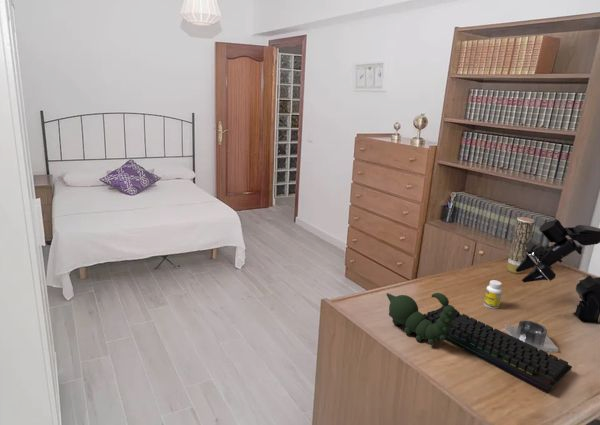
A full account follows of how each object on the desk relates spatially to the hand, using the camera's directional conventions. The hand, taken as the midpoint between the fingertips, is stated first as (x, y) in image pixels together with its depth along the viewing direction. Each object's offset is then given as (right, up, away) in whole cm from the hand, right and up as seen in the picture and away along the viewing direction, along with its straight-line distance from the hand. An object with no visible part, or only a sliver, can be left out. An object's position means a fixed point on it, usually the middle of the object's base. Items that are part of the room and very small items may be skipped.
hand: (519, 276), depth 158 cm
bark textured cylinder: (+17, -3, +37) cm, 41 cm away
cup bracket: (-5, -19, -17) cm, 26 cm away
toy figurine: (-44, -17, -17) cm, 50 cm away
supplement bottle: (-9, -12, +4) cm, 16 cm away
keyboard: (-22, -20, -23) cm, 37 cm away
